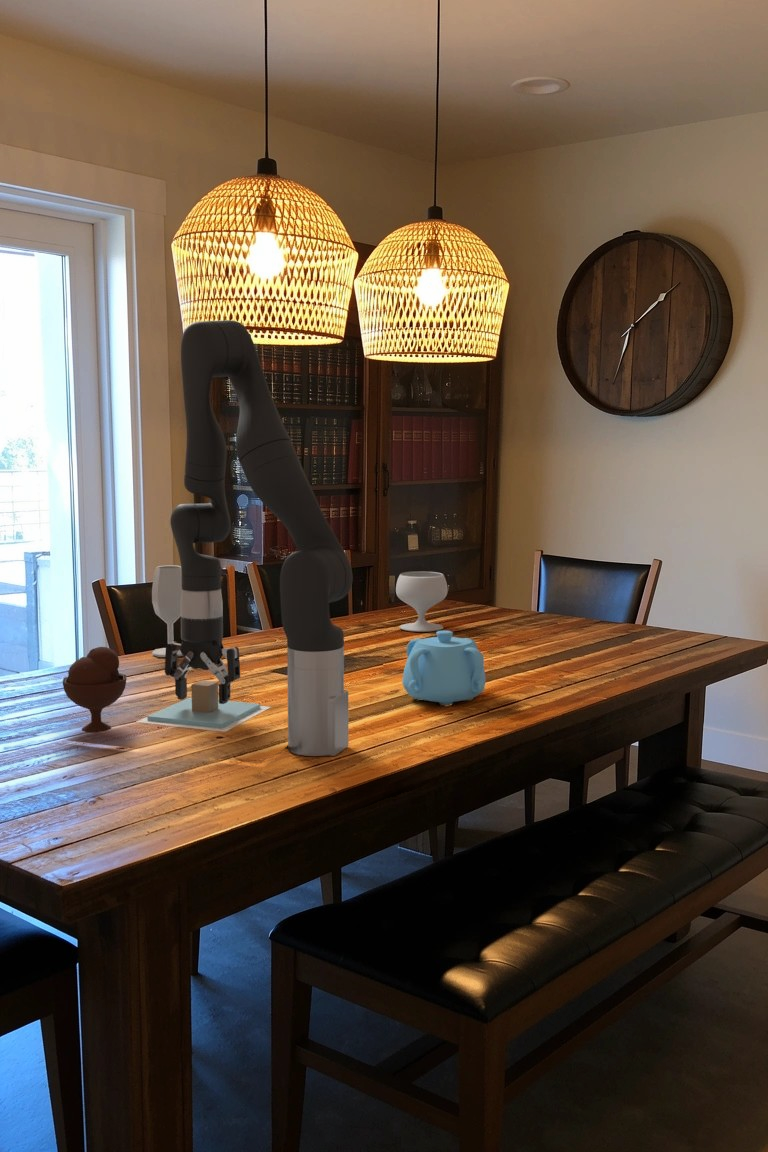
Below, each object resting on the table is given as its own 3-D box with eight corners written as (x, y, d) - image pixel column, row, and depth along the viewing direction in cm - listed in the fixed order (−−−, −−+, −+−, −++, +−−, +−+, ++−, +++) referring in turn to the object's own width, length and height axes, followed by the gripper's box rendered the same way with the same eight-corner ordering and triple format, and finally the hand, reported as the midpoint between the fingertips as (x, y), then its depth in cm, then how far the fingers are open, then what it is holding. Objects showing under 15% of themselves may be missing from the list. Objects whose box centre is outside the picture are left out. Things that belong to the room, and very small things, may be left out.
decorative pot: (485, 711, 197) (486, 640, 196) (400, 708, 199) (401, 638, 197) (484, 690, 213) (485, 625, 212) (406, 688, 215) (406, 623, 213)
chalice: (444, 624, 290) (444, 570, 288) (449, 633, 276) (450, 577, 274) (394, 624, 289) (394, 570, 287) (397, 633, 275) (397, 577, 273)
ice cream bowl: (102, 720, 190) (100, 638, 188) (141, 730, 183) (139, 646, 181) (51, 732, 181) (48, 647, 180) (89, 744, 174) (86, 656, 172)
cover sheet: (260, 708, 196) (260, 677, 195) (221, 728, 182) (221, 696, 181) (190, 701, 201) (189, 671, 200) (147, 720, 187) (146, 688, 186)
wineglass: (186, 650, 253) (185, 564, 250) (192, 657, 245) (190, 568, 242) (150, 652, 250) (147, 565, 248) (154, 659, 242) (151, 569, 239)
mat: (271, 710, 197) (271, 706, 197) (225, 735, 180) (225, 731, 180) (187, 701, 203) (187, 698, 203) (135, 725, 186) (135, 721, 186)
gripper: (246, 613, 190) (247, 699, 192) (177, 608, 195) (179, 692, 197) (227, 619, 183) (227, 709, 185) (156, 614, 188) (157, 702, 190)
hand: (202, 700), depth 191 cm, fingers open, 8 cm apart
